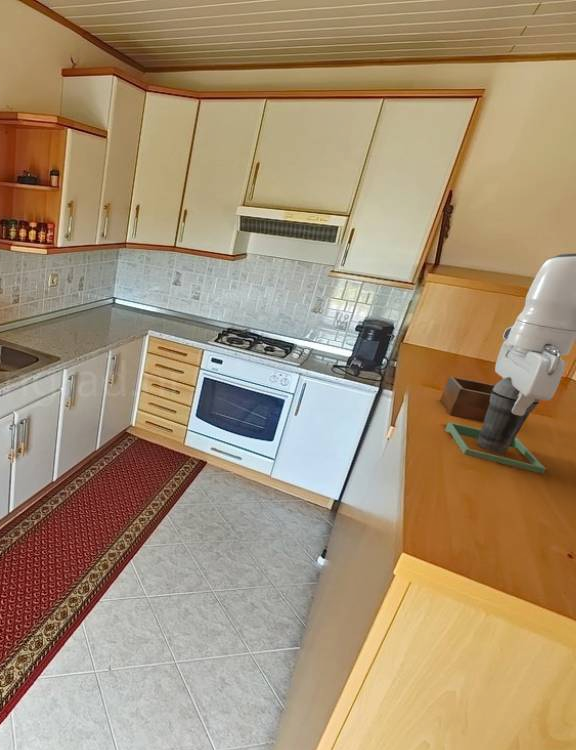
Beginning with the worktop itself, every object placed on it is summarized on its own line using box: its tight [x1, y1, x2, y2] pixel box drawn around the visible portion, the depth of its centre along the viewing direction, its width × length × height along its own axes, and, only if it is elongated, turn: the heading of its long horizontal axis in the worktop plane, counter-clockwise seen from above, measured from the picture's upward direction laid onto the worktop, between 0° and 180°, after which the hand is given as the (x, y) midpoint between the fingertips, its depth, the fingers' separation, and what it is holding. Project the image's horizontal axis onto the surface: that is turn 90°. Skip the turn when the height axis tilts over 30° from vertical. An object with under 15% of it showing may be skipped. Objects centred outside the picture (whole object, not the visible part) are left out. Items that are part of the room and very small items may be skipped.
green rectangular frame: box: [444, 421, 547, 475], centre depth 100 cm, size 12×16×2 cm
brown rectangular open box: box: [439, 375, 496, 423], centre depth 123 cm, size 13×13×7 cm
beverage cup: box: [476, 377, 540, 455], centre depth 96 cm, size 7×7×20 cm
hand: (509, 407), depth 96 cm, fingers closed on beverage cup, 6 cm apart
